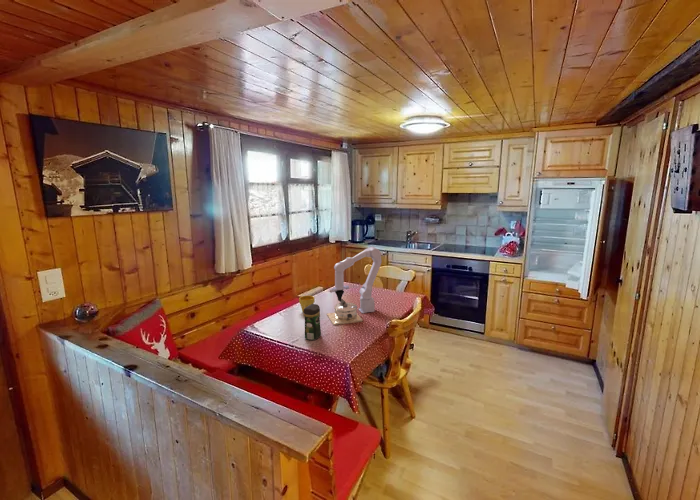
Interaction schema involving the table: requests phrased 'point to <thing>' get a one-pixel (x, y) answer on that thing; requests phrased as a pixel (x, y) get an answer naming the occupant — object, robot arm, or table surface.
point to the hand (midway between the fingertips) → (339, 300)
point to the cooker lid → (345, 306)
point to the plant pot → (306, 301)
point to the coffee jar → (312, 322)
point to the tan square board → (344, 317)
